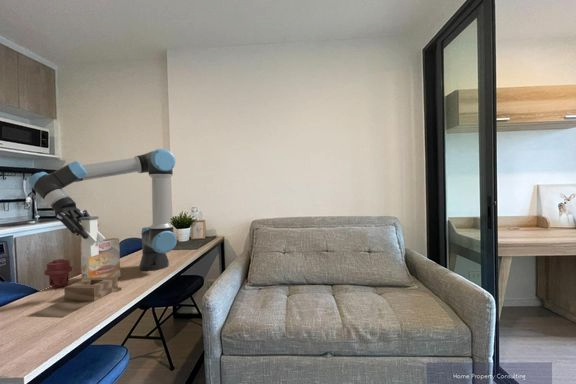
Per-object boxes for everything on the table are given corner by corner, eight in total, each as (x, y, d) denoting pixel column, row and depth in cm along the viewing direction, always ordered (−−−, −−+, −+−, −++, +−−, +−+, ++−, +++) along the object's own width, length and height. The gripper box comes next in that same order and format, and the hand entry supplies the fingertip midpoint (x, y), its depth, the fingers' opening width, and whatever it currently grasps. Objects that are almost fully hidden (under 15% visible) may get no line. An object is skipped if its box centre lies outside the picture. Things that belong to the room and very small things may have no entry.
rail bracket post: (90, 254, 123) (88, 216, 122) (99, 254, 122) (98, 216, 122) (80, 256, 118) (79, 217, 118) (91, 256, 118) (89, 217, 117)
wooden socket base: (92, 289, 130) (92, 275, 129) (121, 289, 128) (121, 276, 128) (26, 319, 101) (25, 302, 101) (62, 320, 99) (61, 303, 99)
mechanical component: (78, 283, 139) (57, 290, 129) (61, 282, 141) (39, 289, 131) (77, 257, 138) (56, 263, 128) (59, 257, 140) (38, 262, 130)
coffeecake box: (89, 285, 135) (87, 243, 134) (81, 283, 138) (79, 242, 138) (121, 276, 148) (119, 238, 147) (113, 274, 151) (111, 237, 151)
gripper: (73, 207, 130) (108, 244, 128) (35, 210, 113) (75, 253, 112) (83, 195, 129) (118, 232, 128) (47, 197, 112) (87, 239, 111)
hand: (98, 241), depth 120 cm, fingers closed on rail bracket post, 4 cm apart
